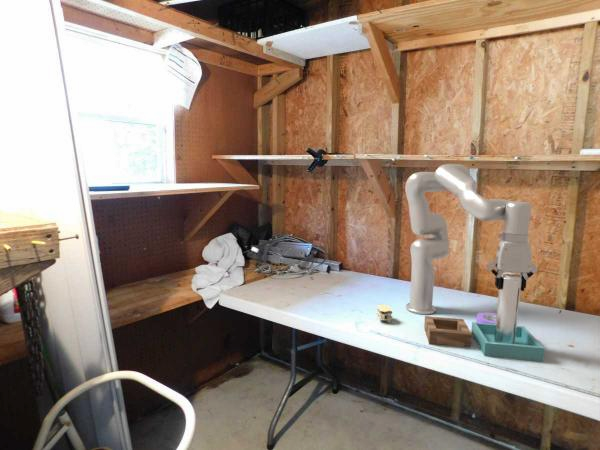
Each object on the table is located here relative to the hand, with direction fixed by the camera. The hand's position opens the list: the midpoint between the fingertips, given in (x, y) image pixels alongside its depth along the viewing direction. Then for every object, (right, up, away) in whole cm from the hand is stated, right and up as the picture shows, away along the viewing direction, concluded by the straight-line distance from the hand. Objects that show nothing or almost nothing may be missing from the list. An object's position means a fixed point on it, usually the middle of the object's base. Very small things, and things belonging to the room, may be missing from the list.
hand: (509, 288), depth 135 cm
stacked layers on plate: (-38, -17, +25) cm, 49 cm away
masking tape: (+4, -19, +20) cm, 28 cm away
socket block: (-18, -20, +9) cm, 28 cm away
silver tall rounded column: (0, -20, +3) cm, 20 cm away
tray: (0, -21, +3) cm, 21 cm away
